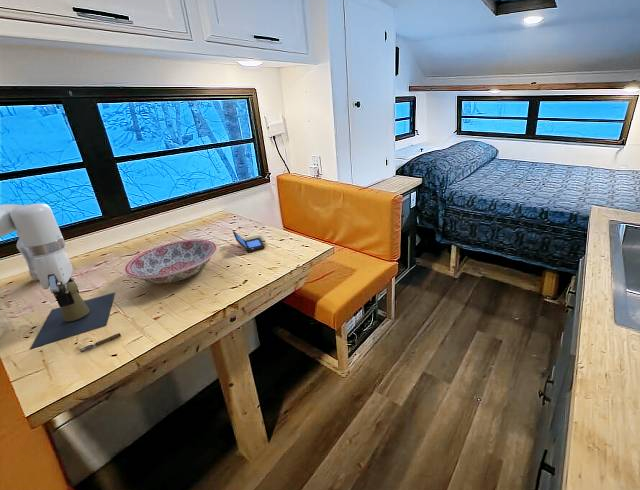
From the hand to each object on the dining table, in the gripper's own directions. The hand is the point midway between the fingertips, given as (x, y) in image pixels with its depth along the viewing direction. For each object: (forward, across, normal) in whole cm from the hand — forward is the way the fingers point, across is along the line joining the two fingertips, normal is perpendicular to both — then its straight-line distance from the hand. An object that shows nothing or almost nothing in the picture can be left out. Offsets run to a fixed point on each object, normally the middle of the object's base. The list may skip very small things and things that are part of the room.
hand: (69, 299), depth 93 cm
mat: (+7, 0, 0) cm, 7 cm away
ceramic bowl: (+7, -10, +27) cm, 30 cm away
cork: (+6, 0, 0) cm, 6 cm away
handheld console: (+7, -18, +55) cm, 58 cm away
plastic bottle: (+7, -39, -16) cm, 42 cm away
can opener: (+7, +19, +8) cm, 22 cm away
